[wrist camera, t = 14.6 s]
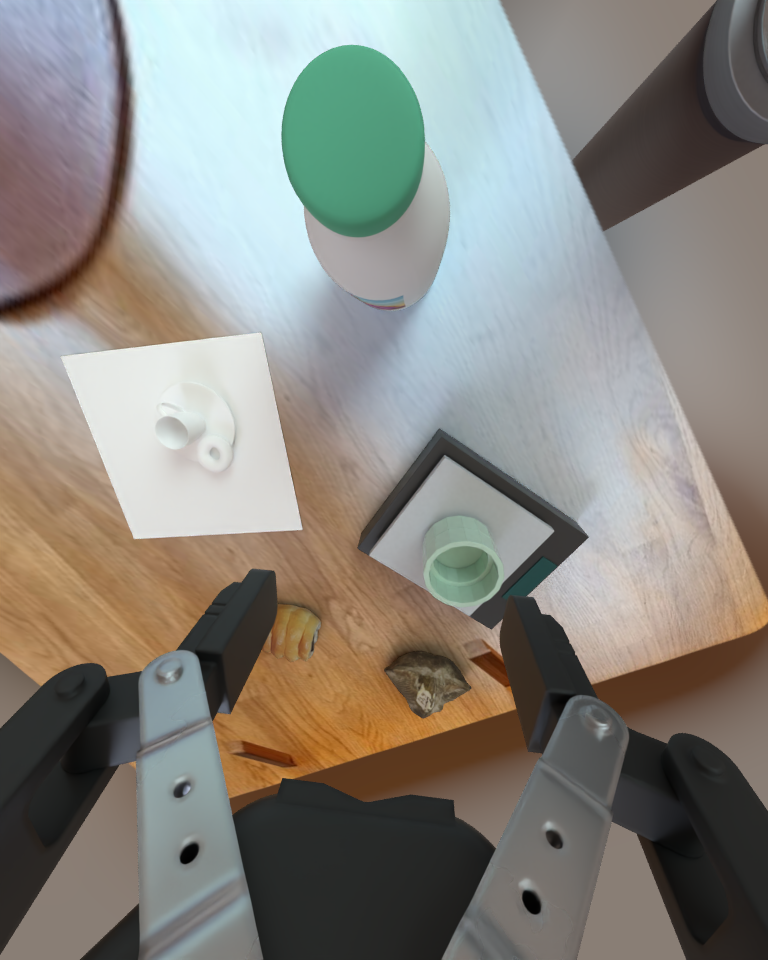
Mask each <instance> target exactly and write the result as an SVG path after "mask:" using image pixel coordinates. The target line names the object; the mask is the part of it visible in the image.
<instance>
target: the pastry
mask: <svg viewBox="0 0 768 960" xmlns="http://www.w3.org/2000/svg"><path fill="white" fill-rule="evenodd" d="M277 606H278V607H277V616H276V620H275V623H274V625H273V627H272V629H271V632H270V634H269V636H268V638H267V640H266V642H265V644H264V646H263V648H262V649H263V651H264V652H271V653H272V654H273V655H274V656H275V657H276V658H277V659H278V658H282V657H285V658H287V660H288V661H290V662H294V661H296V660H298V659H302V660H304V661H307V660H308V659H309V658H311V656H312V655H313V652H314V643H316V641H317V638H318V636H317V635H318V631H317V630H319V628H320V627H321V626H320V625H321V622H320V620H319V618H317V617H316V616H315V615H314V614H313V613H312V612H311V611H309V610H308V609H306V608H300V607H297V606H295V605H288V604H285V605H283V604H279V603H278V604H277Z"/></svg>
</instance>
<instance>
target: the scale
mask: <svg viewBox="0 0 768 960" xmlns="http://www.w3.org/2000/svg"><path fill="white" fill-rule="evenodd" d="M459 515H460V516H466V517H470V518H474V519H476V520H478V521H479V522H481V523H482V524H484V525H485V526H486V527H487V528H488V530H489V531H490V533H491V535H492V536H493V539H494V542H495V544H496V547H497V549H498V552H499V555H500V557H501V560H502V563H503V567H504V580H503V582H502V585H501V587H500V590H499V591H498V592H497V593H496V594H495V595H494V596H493V597H492V598H491V599H490V600H488V601H486V602H483V603H481V604H479V605H477V606H471V607H456V606H453V607H455V608H456V609H458V610H460V611H461V612H463V613H465V614H466V615H468V616H470V617H472V618H473V619H475V620H476V621H478V622H480V623H481V624H483V625H485V626H486V627H488V628H490V629H492V628H494V627H495V626H496V625H497V624H498V623H499V622H500V621H501V620H502V619H503V616H504V612H505V608H506V603H507V599H508V597H509V596H510V595H515V596H525V597H526V596H527V595H528V594H529V593H531V592H532V591H533V590H534V589H535V588H536V587H537V586H538V585H539V584H540V583H541V582H542V581H543V580H544V579H545V578H546V577H547V576H548V575H550V574H551V573H552V572H553V571H554V570H555V569H556V568H557V567H558V566H559V565H560V564H561V563H562V562H563V561H564V560H565V559H566V558H568V557H569V556H570V555H571V554H572V553H573V552H574V551H575V550H576V549H577V548H578V547H579V546H580V545H581V544H582V543H583V542H584V541H585V540H587V539H588V538H589V537H588V535H587V534H586V533H585V532H584V531H583V530H582V528H581V527H580V526H579V525H578V524H577V523H576V522H575V521H574V520H572V519H571V518H570V517H568V516H567V515H565V514H564V513H562V512H561V511H559V510H558V509H556V508H555V507H553V506H552V505H551V504H549V503H548V502H546V501H545V500H543V499H542V498H540V497H539V496H537V495H536V494H534V493H533V492H532V491H530V490H529V489H527V488H526V487H524V486H523V485H521V484H520V483H518V482H517V481H516V480H514V479H513V478H511V477H510V476H508V475H507V474H505V473H504V472H502V471H501V470H499V469H498V468H497V467H495V466H494V465H492V464H491V463H489V462H488V461H486V460H485V459H483V458H482V457H481V456H479V455H478V454H476V453H475V452H473V451H472V450H470V449H469V448H467V447H466V446H464V445H463V444H462V443H460V442H459V441H457V440H456V439H454V438H453V437H451V436H450V435H448V434H447V433H446V432H444V431H443V430H441V429H439V430H438V431H437V432H436V434H435V435H434V436H433V438H432V439H431V440H430V442H429V443H428V445H427V446H426V447H425V449H424V450H423V451H422V453H421V454H420V455H419V457H418V458H417V459H416V461H415V462H414V463H413V465H412V466H411V467H410V469H409V470H408V471H407V473H406V474H405V475H404V477H403V478H402V479H401V481H400V482H399V483H398V485H397V486H396V487H395V489H394V490H393V492H392V493H391V494H390V496H389V497H388V498H387V500H386V501H385V502H384V504H383V505H382V506H381V508H380V509H379V510H378V512H377V513H376V514H375V516H374V517H373V518H372V520H371V521H370V522H369V524H368V525H367V526H366V528H365V529H364V530H363V532H362V533H361V537H360V540H359V544H358V549H359V550H361V551H362V552H364V553H366V554H367V555H369V556H370V557H372V558H374V559H375V560H377V561H379V562H380V563H382V564H384V565H385V566H387V567H389V568H390V569H392V570H394V571H395V572H397V573H399V574H400V575H402V576H404V577H405V578H407V579H408V580H410V581H412V582H413V583H415V584H417V585H418V586H420V587H422V588H423V589H425V590H427V591H428V592H430V591H429V590H428V589H427V587H426V586H425V580H424V575H423V550H422V546H423V541H424V538H425V535H426V533H427V532H428V531H429V529H430V528H431V527H432V526H433V525H434V524H435V523H437V522H439V521H440V520H442V519H444V518H446V517H452V516H459Z"/></svg>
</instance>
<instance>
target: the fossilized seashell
mask: <svg viewBox="0 0 768 960" xmlns="http://www.w3.org/2000/svg"><path fill="white" fill-rule="evenodd" d="M384 671H385V672H386V674H387V675H388V677H389V678H390V680H391V681H392V682H393V684H394V685H395V686H396V688H397V689H398V690H399V692H400V693H401V694H402V695H403V696H404V697H405V698H406V700H407V702H408V704H409V707H410V709H411V710H412V711H413V713H415V714H416V715H418V716H420V717H421V718H426V717H428V716H430V715H431V714H432V713H434V712H440V711H441V710H442V709H443V705H444V704H445V703H447V702H449V701H453V700H454V699H456V698H457V697H459V696H460V695H462V694H464V693H466V692H467V691H469V690H470V689H471V686H470V685H469V684H468V683H467V682H466V680H465V679H464V677H463V675H462V673H461V671H460V670H459V669H458V667H457V666H456V665H455V664H454V663H453V662H452V661H451V660H450V659H448V658H446V657H444V656H433V655H432V654H430V653H427V652H424V651H417V652H411V653H408V654H405V655H403V656H400V658H398V659H397V660H396V661H395V662H393V663H392V664H391V665H390V666H388V667H386V668H385V669H384Z"/></svg>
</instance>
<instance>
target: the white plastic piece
mask: <svg viewBox="0 0 768 960" xmlns="http://www.w3.org/2000/svg"><path fill="white" fill-rule="evenodd" d="M196 412H200V413H203V415H204V416H206V417H205V418H206V419H208V420H207V421H208V422H209V423H208V425H207V426H208V428H206V421H205V419H204V418H203V417H202V416H201V415H200V414H198V413H196ZM154 419H155V424H154V434H155V437H156V439H157V440H158V442H159V443H160V444H161V445H162V446H164V447H165V448H167V449H169V450H172V451H173V452H174V453H176V454H177V455H179V456H180V457H182V458H184V459H186V460H188V461H191V462H195V463H200V465H201V466H202V467H203V468H205V469H206V470H207V471H209V472H212V473H222V472H224V471H226V470H227V469H228V468H229V467H230V466H231V465H232V463H233V461H234V450H233V445H234V442H235V438H236V423H235V419H234V416H233V413H232V411H231V409H230V407H229V406H228V404H227V403H226V401H225V400H224V399H223V398H222V397H221V396H220V395H219V394H218V393H217V392H216V391H214V390H213V389H211V388H210V387H208V386H206V385H204V384H202V383H199V382H194V381H180V382H176V383H173V384H171V385H169V386H168V387H167V388H165V389H164V390H163V391H162V393H161V394H160V395H159V397H158V399H157V401H156V404H155V409H154Z"/></svg>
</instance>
